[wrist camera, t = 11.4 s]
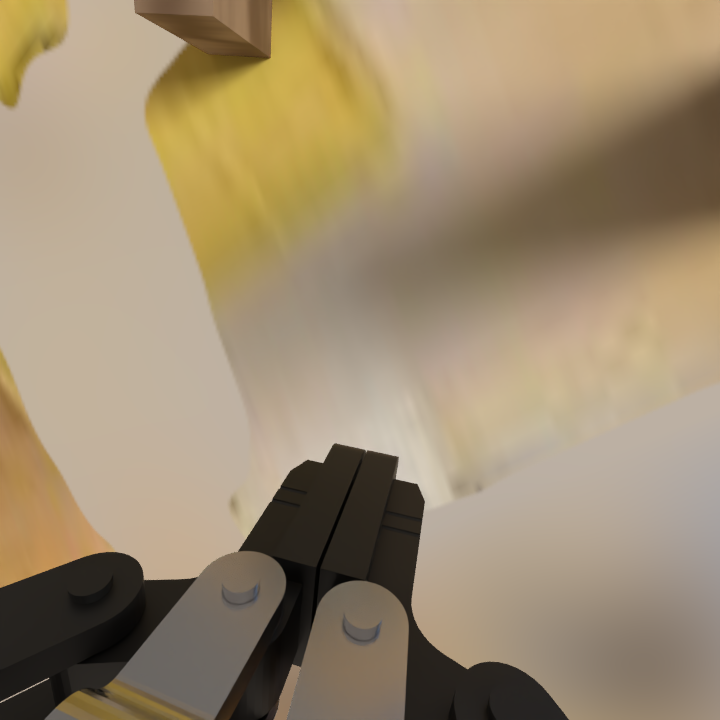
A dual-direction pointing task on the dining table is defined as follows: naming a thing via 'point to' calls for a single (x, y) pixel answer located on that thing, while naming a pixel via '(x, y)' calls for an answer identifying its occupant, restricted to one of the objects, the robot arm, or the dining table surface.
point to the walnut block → (215, 24)
